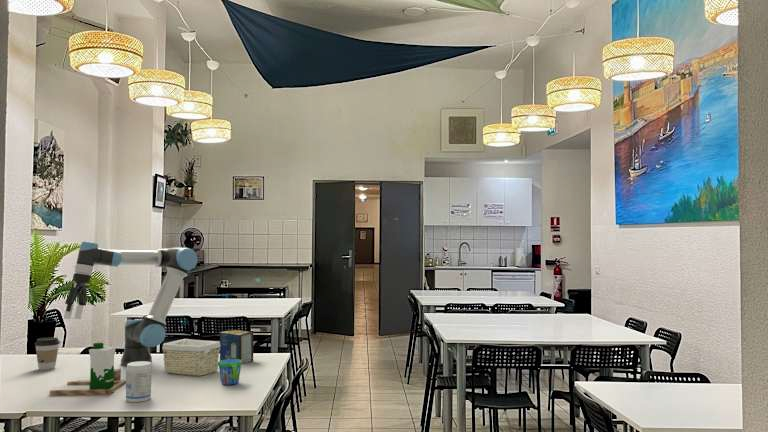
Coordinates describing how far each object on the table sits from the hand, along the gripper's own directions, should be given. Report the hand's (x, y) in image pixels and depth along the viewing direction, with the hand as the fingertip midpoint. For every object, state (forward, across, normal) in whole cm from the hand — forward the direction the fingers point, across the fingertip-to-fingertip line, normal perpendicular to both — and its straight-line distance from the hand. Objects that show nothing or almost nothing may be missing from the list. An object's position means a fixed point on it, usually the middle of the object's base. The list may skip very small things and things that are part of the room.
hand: (72, 318), depth 286 cm
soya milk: (+27, +20, +25) cm, 42 cm away
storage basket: (+18, -11, +57) cm, 61 cm away
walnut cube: (+25, +7, +26) cm, 36 cm away
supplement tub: (+27, +39, +45) cm, 65 cm away
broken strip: (+26, +7, +20) cm, 34 cm away
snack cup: (+18, +16, +78) cm, 82 cm away
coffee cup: (+28, -30, -16) cm, 44 cm away
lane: (+28, +20, +19) cm, 39 cm away
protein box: (+12, -35, +75) cm, 84 cm away
